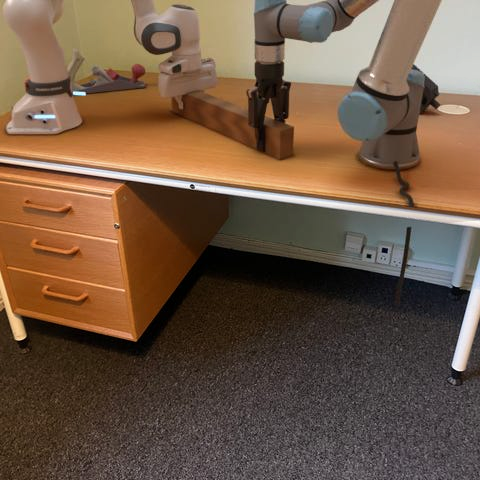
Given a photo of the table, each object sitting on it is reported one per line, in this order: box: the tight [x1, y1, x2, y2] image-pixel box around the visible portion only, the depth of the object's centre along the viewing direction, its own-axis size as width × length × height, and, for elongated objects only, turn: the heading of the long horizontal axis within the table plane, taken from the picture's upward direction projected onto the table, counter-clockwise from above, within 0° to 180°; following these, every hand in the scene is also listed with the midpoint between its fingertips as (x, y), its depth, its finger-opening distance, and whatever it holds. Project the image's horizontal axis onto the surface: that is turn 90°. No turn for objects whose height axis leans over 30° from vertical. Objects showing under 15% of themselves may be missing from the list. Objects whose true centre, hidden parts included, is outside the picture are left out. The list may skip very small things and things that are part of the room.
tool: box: [411, 63, 442, 114], centre depth 170 cm, size 6×19×15 cm, turn 51°
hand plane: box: [67, 48, 146, 94], centre depth 194 cm, size 7×31×15 cm, turn 107°
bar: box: [170, 91, 295, 161], centre depth 157 cm, size 53×5×8 cm, turn 38°
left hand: (190, 106), depth 170 cm, fingers closed on bar, 5 cm apart
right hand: (268, 147), depth 146 cm, fingers closed on bar, 5 cm apart
